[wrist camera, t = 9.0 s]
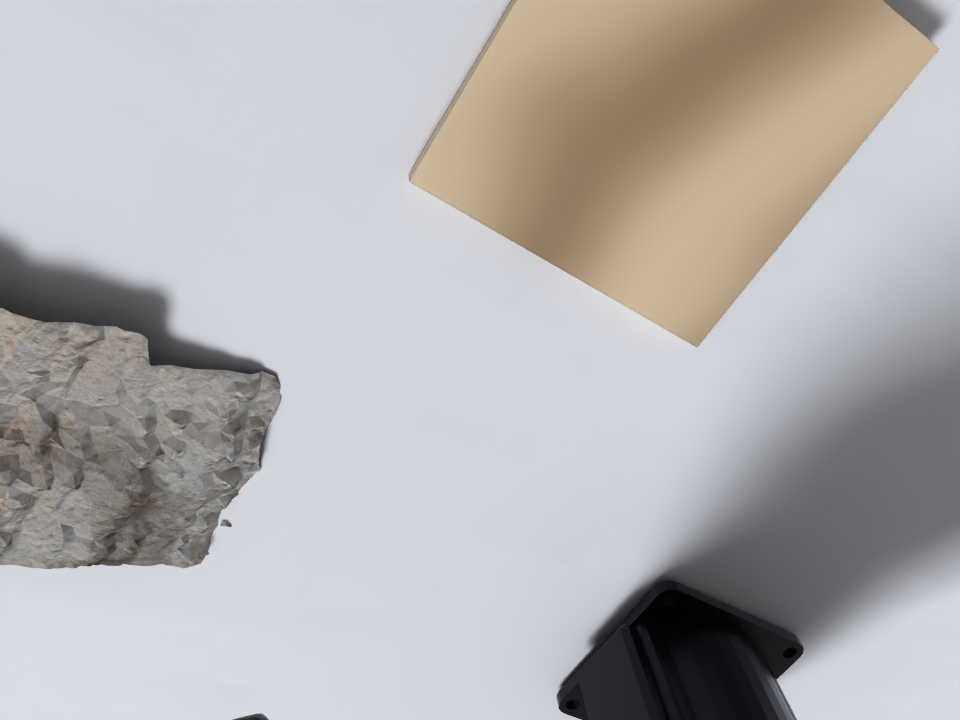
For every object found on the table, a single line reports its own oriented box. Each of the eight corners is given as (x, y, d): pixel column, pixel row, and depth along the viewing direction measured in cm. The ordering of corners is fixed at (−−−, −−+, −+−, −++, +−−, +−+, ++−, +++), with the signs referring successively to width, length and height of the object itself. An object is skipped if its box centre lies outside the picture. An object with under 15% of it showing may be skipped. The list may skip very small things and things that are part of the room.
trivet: (924, 45, 20) (939, 48, 19) (689, 337, 23) (696, 347, 22) (631, -202, 17) (639, -206, 16) (408, 174, 20) (409, 181, 19)
